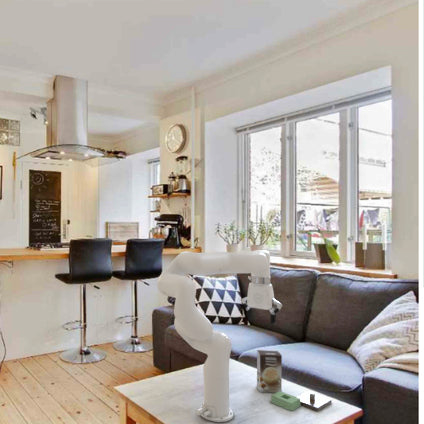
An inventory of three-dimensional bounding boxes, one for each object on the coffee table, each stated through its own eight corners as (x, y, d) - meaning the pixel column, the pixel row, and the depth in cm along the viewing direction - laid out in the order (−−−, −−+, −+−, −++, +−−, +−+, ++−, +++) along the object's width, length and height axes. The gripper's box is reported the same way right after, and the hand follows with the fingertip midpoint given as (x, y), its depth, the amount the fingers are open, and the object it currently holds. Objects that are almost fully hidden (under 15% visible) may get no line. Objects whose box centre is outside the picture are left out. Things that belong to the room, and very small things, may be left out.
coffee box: (260, 392, 179) (259, 354, 179) (256, 386, 185) (256, 349, 185) (282, 393, 178) (281, 355, 178) (278, 386, 184) (277, 350, 184)
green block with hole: (291, 410, 162) (291, 403, 162) (271, 402, 170) (271, 395, 170) (300, 406, 166) (300, 398, 166) (280, 398, 174) (279, 390, 174)
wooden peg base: (317, 411, 162) (317, 401, 162) (293, 402, 170) (293, 392, 170) (331, 403, 169) (331, 393, 168) (307, 394, 176) (307, 385, 176)
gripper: (237, 279, 176) (237, 320, 176) (277, 284, 165) (278, 327, 165) (245, 277, 182) (246, 316, 182) (285, 281, 170) (285, 323, 170)
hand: (261, 321), depth 173 cm, fingers open, 9 cm apart
